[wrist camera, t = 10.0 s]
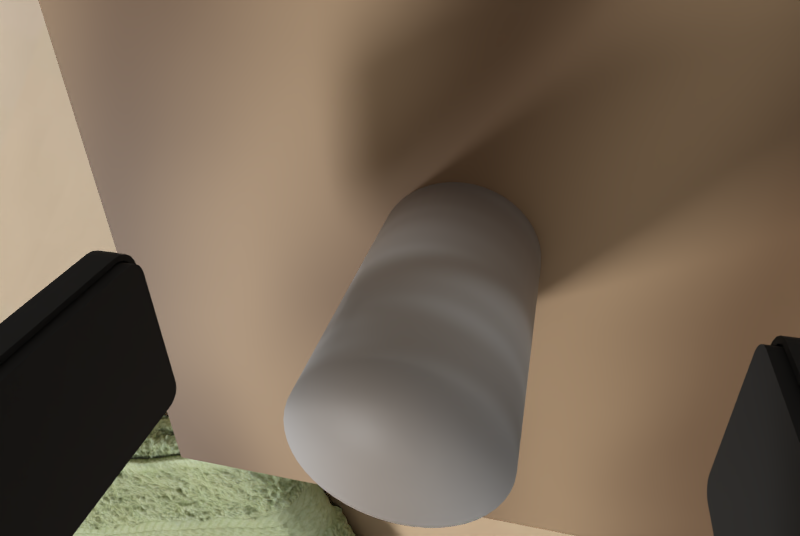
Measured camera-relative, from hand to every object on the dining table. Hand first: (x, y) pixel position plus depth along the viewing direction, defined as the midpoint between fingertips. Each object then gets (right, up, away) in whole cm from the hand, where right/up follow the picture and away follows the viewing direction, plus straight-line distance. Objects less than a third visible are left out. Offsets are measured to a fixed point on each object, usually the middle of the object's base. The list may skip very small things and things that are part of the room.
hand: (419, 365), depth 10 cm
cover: (+1, +2, +3) cm, 4 cm away
